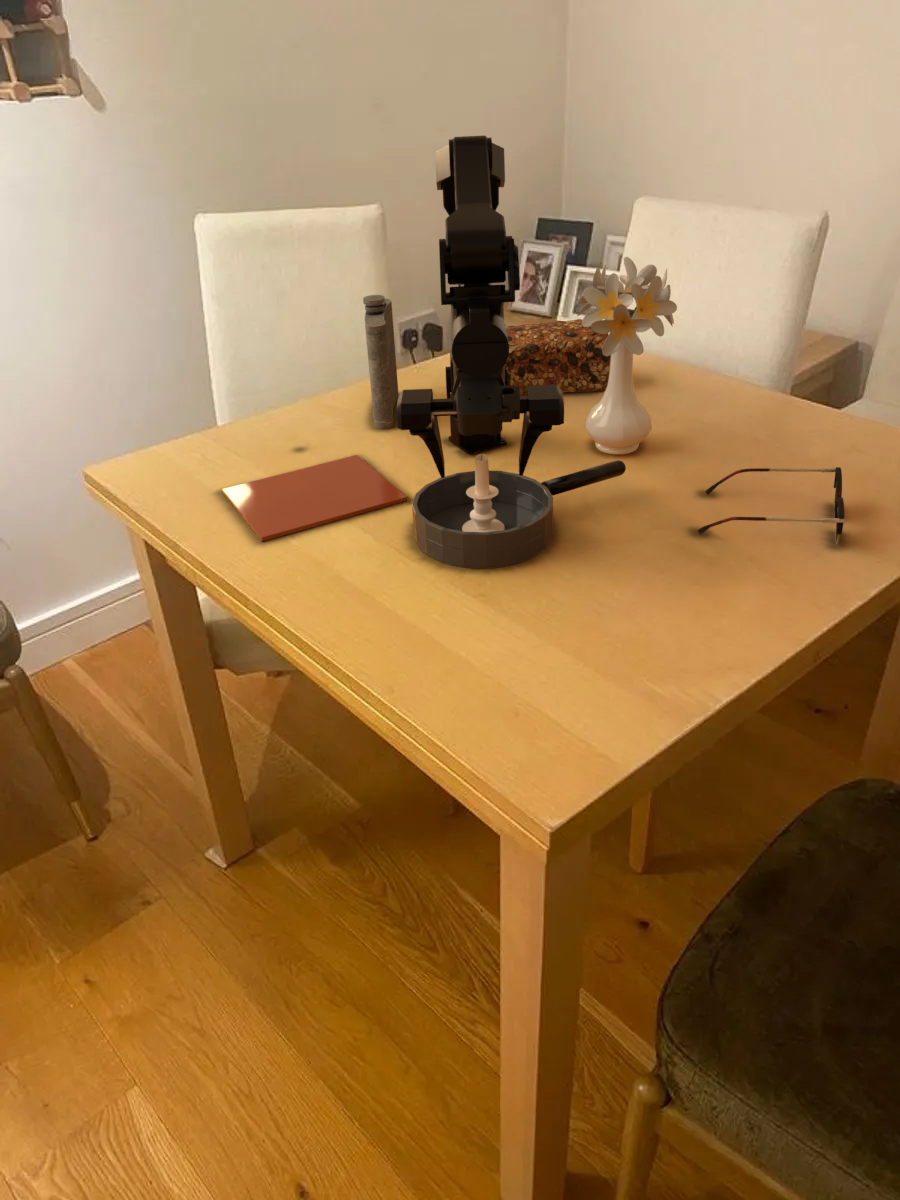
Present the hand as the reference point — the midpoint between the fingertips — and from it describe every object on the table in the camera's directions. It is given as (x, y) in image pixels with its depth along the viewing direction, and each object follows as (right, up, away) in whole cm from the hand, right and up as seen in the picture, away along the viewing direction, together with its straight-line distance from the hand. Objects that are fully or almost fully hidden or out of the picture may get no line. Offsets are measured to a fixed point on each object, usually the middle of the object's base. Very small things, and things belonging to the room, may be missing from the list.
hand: (481, 475), depth 115 cm
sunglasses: (+35, -5, +4) cm, 36 cm away
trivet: (-22, -1, +15) cm, 26 cm away
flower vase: (+21, +7, +24) cm, 32 cm away
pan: (0, -7, +4) cm, 8 cm away
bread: (+13, +21, +46) cm, 52 cm away
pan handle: (+13, 0, +8) cm, 16 cm away
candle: (0, -6, +4) cm, 8 cm away
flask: (-14, +15, +39) cm, 44 cm away
